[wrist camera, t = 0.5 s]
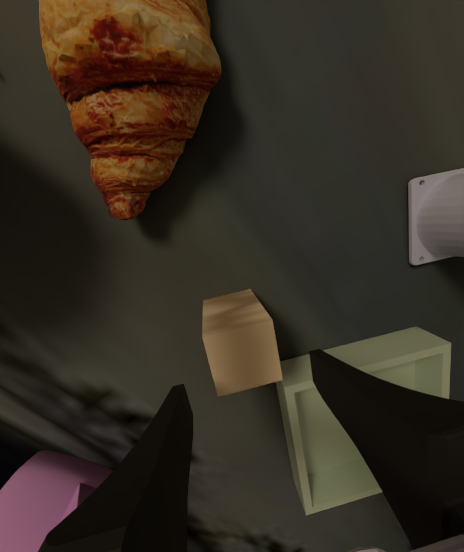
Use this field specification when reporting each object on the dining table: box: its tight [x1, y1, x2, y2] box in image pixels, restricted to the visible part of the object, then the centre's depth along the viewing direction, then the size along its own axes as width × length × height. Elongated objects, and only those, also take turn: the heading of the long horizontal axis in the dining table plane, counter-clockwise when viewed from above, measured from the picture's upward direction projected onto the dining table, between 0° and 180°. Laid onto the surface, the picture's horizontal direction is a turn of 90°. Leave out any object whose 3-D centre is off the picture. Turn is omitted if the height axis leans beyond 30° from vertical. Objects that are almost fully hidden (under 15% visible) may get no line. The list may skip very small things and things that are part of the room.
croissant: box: [39, 0, 221, 220], centre depth 14 cm, size 21×10×8 cm, turn 171°
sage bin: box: [276, 327, 451, 515], centre depth 24 cm, size 16×16×4 cm
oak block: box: [202, 289, 283, 397], centre depth 18 cm, size 4×4×7 cm
